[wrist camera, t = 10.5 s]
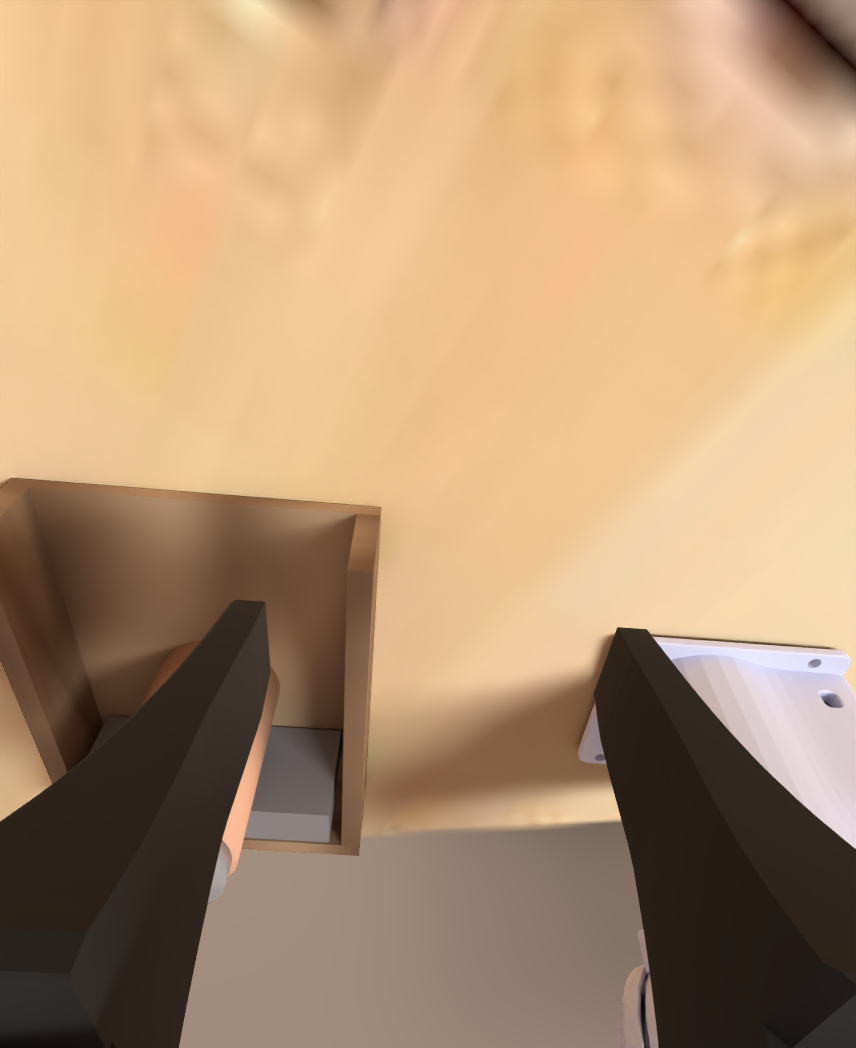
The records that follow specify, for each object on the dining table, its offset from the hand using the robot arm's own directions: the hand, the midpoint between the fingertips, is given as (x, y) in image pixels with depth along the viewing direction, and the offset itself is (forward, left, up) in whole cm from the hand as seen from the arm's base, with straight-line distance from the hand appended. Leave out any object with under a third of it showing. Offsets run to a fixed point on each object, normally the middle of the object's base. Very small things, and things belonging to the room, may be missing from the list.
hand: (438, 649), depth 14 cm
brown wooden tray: (+8, +11, -9) cm, 17 cm away
